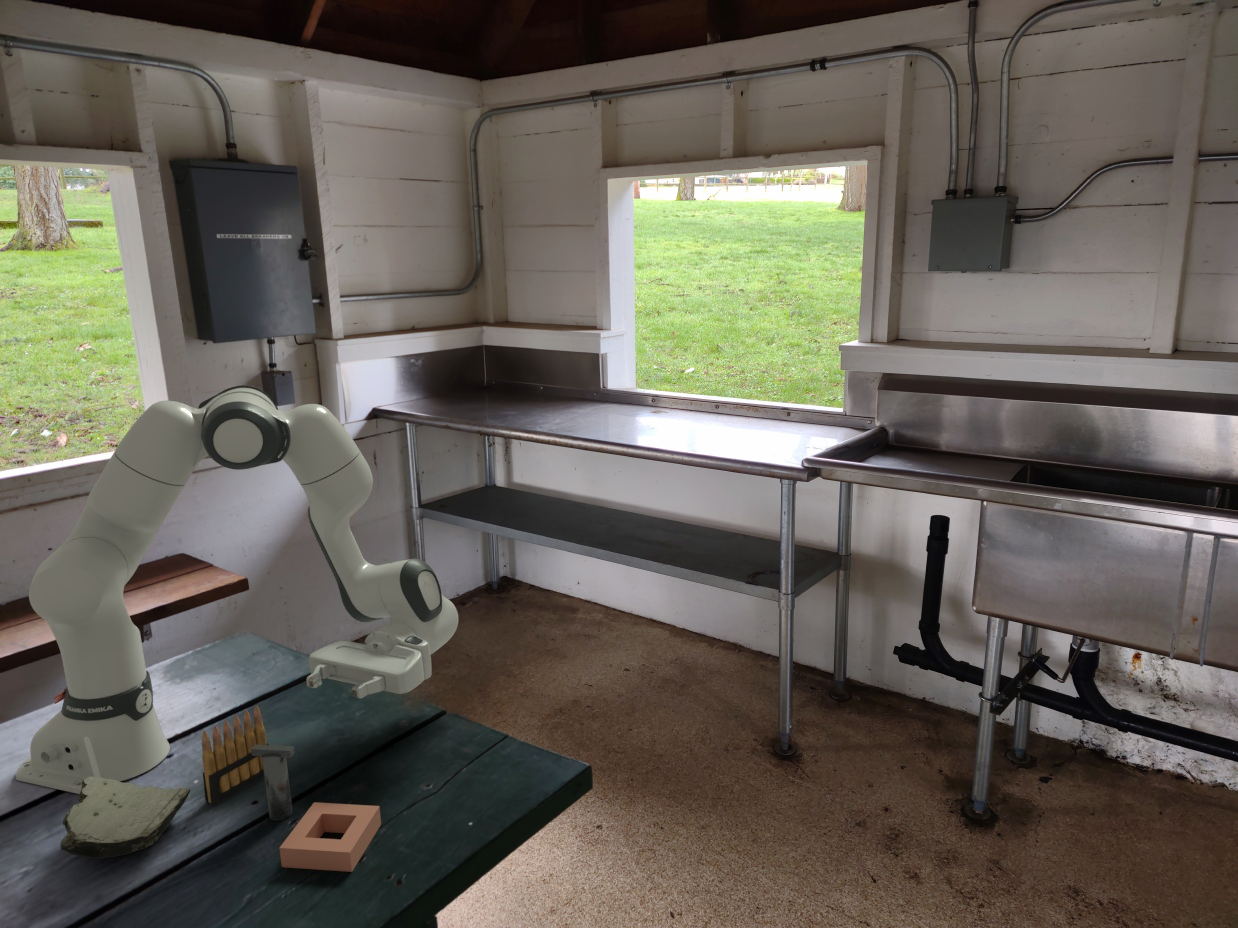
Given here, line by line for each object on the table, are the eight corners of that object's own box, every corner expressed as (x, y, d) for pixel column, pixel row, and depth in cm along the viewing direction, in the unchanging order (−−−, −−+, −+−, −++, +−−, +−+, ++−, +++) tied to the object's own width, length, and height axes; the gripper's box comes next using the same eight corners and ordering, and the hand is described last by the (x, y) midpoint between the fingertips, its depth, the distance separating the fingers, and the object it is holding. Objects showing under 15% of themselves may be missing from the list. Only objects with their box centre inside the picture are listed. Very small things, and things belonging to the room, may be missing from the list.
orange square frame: (281, 866, 115) (279, 847, 114) (316, 820, 125) (314, 802, 124) (352, 871, 114) (350, 852, 113) (381, 823, 124) (379, 805, 123)
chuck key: (256, 819, 125) (247, 752, 123) (267, 805, 128) (259, 740, 126) (294, 821, 125) (286, 754, 122) (305, 808, 128) (297, 742, 125)
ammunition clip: (212, 806, 129) (202, 735, 126) (205, 802, 130) (194, 731, 127) (273, 771, 137) (265, 703, 135) (266, 767, 138) (257, 700, 136)
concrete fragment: (202, 789, 129) (163, 788, 115) (175, 863, 125) (131, 871, 111) (108, 768, 129) (57, 765, 115) (78, 842, 125) (21, 848, 111)
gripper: (341, 626, 150) (281, 659, 138) (435, 643, 141) (380, 680, 129) (345, 658, 151) (286, 694, 139) (439, 678, 143) (384, 718, 130)
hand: (332, 688), depth 134 cm, fingers open, 8 cm apart
